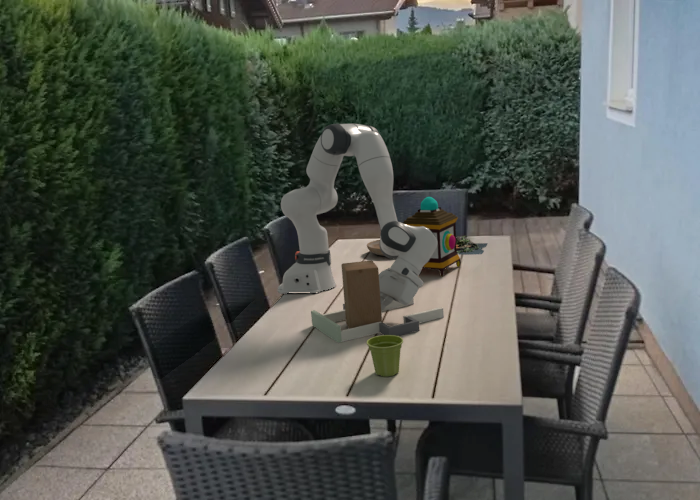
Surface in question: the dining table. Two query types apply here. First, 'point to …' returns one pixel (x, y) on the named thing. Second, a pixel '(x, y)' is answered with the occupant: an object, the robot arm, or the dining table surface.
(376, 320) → the wooden block
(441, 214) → the decorative lantern
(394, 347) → the plant pot
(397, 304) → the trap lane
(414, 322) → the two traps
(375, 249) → the ceramic bowl
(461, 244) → the plated dish
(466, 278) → the dining table surface
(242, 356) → the dining table surface
